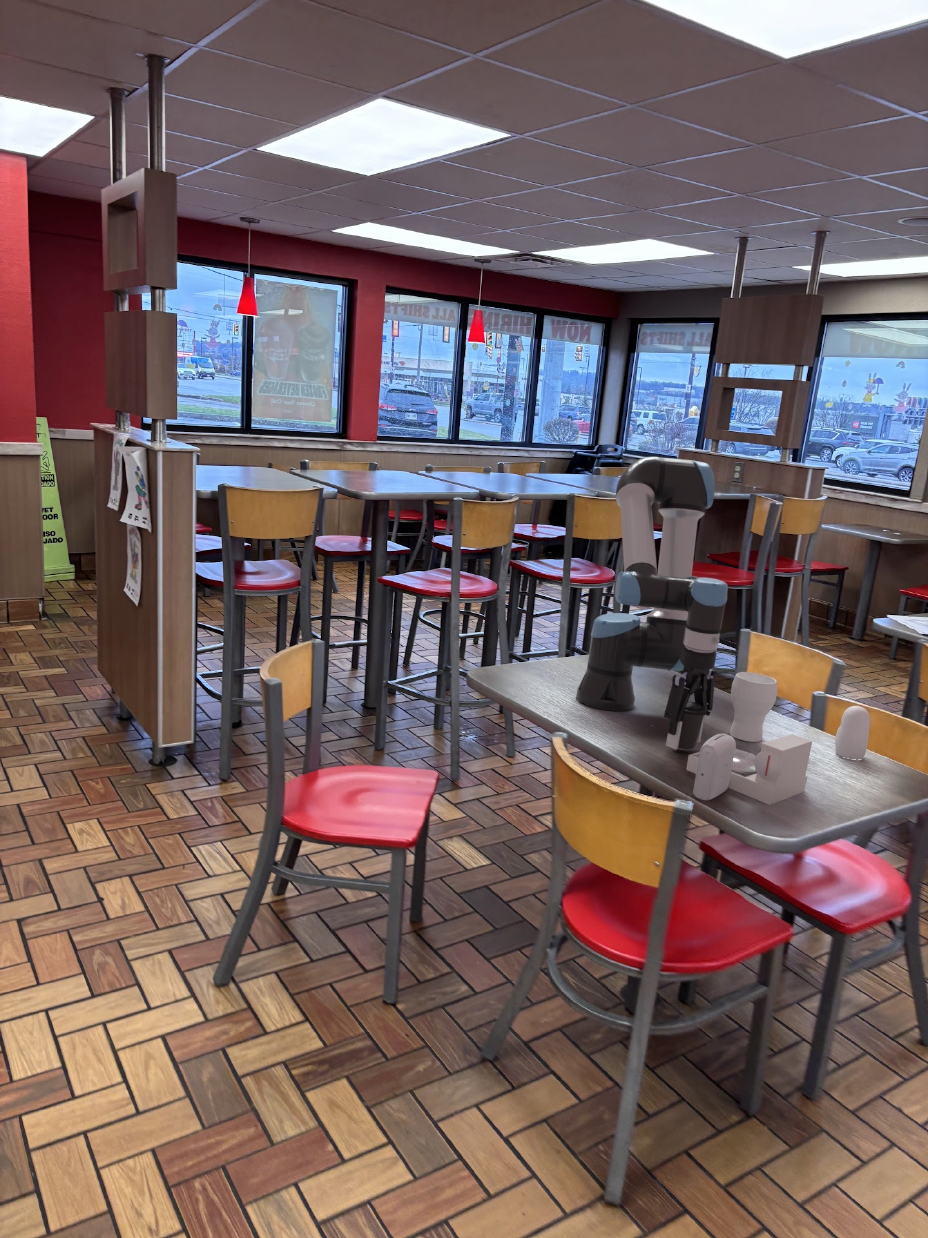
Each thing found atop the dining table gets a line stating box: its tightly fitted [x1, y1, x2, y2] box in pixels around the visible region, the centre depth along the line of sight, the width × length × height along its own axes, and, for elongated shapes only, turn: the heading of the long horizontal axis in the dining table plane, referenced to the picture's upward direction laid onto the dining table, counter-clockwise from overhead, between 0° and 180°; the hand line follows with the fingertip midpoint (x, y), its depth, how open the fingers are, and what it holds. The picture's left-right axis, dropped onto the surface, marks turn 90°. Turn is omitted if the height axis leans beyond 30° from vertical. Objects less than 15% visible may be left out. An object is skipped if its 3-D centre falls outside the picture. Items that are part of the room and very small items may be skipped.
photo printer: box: [692, 733, 737, 801], centre depth 183 cm, size 10×4×12 cm, turn 140°
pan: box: [731, 748, 757, 774], centre depth 195 cm, size 12×12×3 cm
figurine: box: [834, 705, 871, 760], centre depth 215 cm, size 7×8×12 cm
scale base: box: [685, 733, 813, 806], centre depth 192 cm, size 21×14×11 cm
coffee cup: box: [678, 700, 707, 750], centre depth 205 cm, size 8×8×10 cm
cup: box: [729, 671, 778, 743], centre depth 220 cm, size 11×11×15 cm
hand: (683, 743), depth 207 cm, fingers closed on coffee cup, 8 cm apart
